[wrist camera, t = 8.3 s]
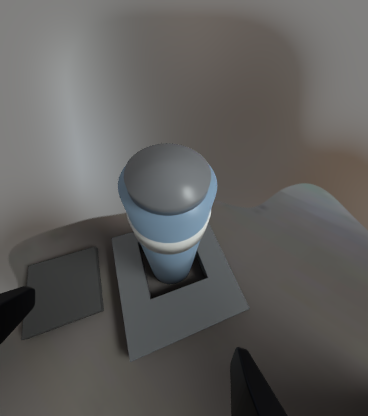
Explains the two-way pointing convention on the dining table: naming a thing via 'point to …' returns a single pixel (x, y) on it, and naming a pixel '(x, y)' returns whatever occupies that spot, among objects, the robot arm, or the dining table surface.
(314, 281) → the dining table surface
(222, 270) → the socket plate
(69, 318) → the mat
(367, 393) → the dining table surface
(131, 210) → the cartridge
